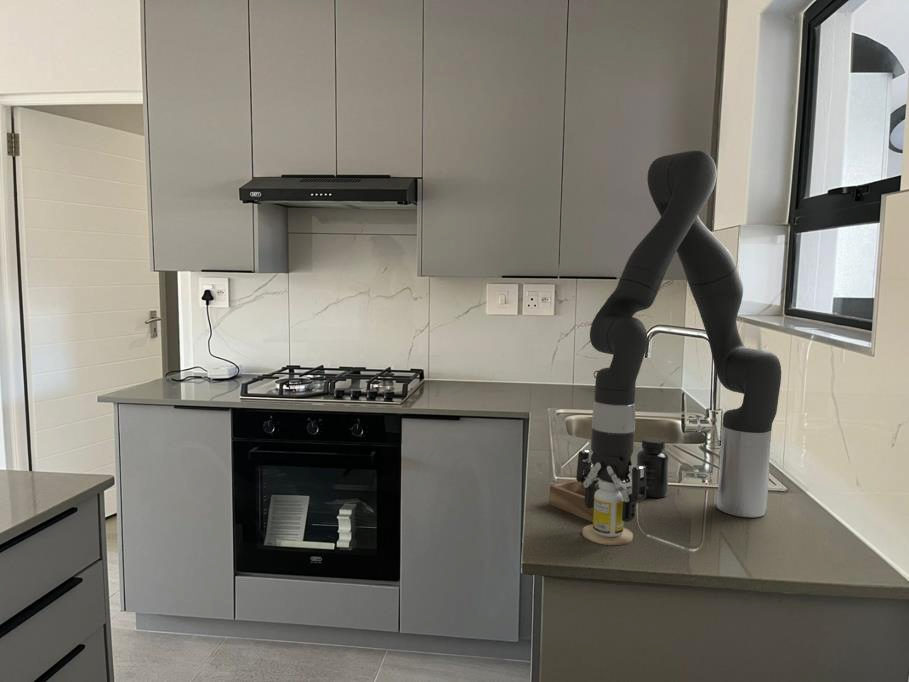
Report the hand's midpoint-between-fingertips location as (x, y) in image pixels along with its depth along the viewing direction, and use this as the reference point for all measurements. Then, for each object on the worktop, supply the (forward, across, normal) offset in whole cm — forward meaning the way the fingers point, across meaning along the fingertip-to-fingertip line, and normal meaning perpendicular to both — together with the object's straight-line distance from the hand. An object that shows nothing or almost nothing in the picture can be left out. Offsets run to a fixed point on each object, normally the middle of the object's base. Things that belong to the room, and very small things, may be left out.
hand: (608, 513), depth 129 cm
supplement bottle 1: (+4, 0, 0) cm, 4 cm away
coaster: (+4, 0, 0) cm, 4 cm away
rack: (+4, +12, -8) cm, 15 cm away
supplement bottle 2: (+4, +11, -27) cm, 29 cm away
